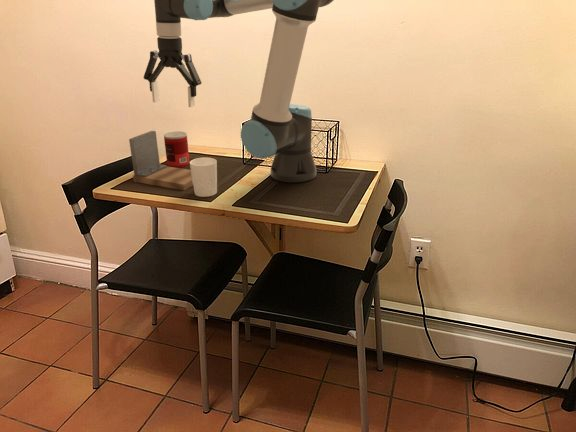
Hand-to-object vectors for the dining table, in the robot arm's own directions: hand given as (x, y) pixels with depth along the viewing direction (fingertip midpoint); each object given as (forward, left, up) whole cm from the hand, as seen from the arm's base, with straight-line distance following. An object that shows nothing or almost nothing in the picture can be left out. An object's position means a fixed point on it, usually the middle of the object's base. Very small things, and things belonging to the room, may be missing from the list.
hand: (173, 104), depth 165 cm
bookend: (+2, +13, -20) cm, 24 cm away
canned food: (+1, -1, -22) cm, 22 cm away
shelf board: (-6, +13, -22) cm, 26 cm away
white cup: (-23, +18, -22) cm, 36 cm away
